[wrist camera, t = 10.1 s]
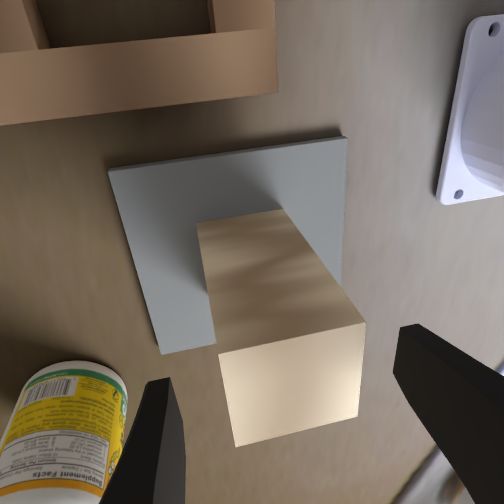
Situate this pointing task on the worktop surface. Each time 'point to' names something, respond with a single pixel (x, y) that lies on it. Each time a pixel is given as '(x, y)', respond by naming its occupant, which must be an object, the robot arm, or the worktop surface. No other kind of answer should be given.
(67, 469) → the supplement bottle
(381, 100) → the worktop surface
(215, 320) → the maple part
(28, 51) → the pocket block
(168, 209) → the slate mat
